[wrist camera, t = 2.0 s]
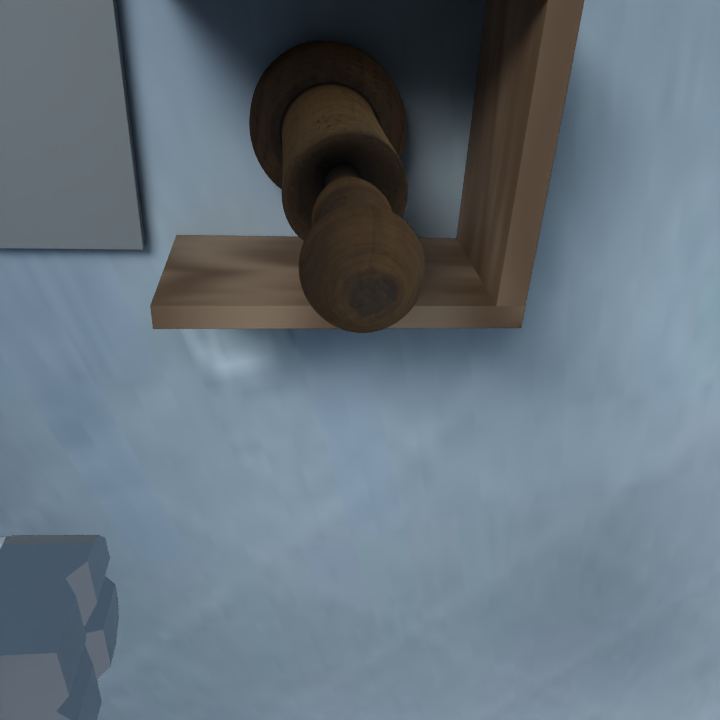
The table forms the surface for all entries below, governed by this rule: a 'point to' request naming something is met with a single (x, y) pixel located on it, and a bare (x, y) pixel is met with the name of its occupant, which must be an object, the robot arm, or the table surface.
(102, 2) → the grey rubber mat
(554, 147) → the walnut bay
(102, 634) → the robot arm
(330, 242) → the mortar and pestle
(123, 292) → the table surface
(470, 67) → the table surface
